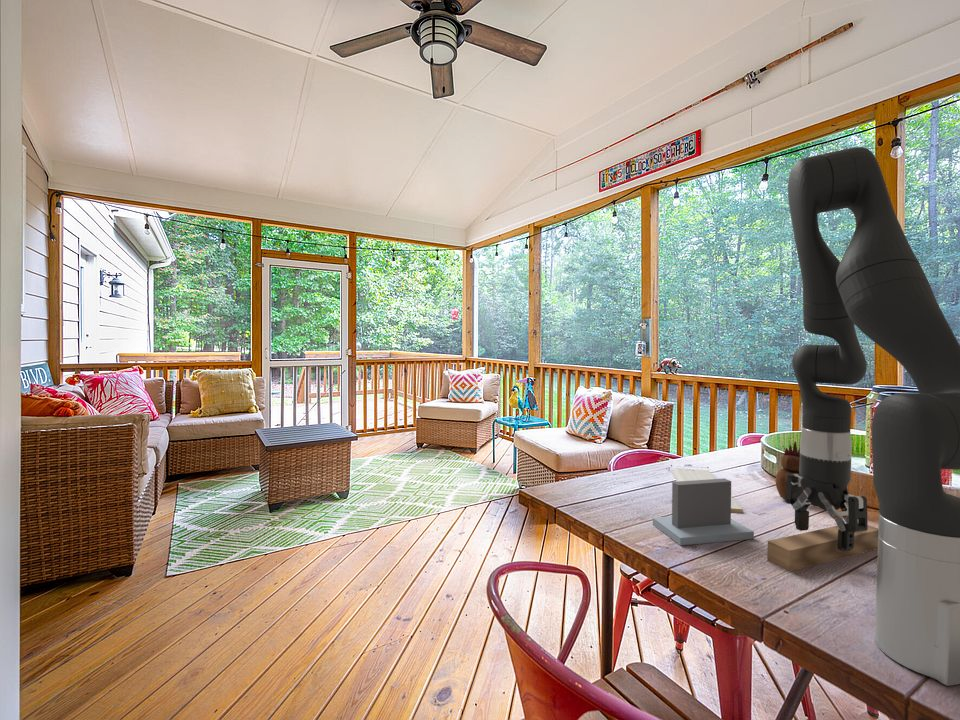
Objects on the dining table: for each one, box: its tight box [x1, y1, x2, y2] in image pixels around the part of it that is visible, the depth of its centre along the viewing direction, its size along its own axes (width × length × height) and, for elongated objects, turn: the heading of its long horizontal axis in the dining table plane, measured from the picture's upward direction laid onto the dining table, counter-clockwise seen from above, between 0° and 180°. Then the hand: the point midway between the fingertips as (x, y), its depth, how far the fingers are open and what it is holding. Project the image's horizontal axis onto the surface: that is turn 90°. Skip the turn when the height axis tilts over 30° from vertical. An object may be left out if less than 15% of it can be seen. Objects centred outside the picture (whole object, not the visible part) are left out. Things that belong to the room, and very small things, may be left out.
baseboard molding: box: [665, 464, 744, 514], centre depth 119 cm, size 31×3×12 cm
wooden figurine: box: [775, 441, 804, 500], centre depth 110 cm, size 7×6×15 cm
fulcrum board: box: [652, 477, 755, 546], centre depth 93 cm, size 10×16×10 cm, turn 99°
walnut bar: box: [766, 524, 879, 572], centre depth 83 cm, size 24×4×4 cm, turn 109°
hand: (822, 539), depth 83 cm, fingers open, 8 cm apart
